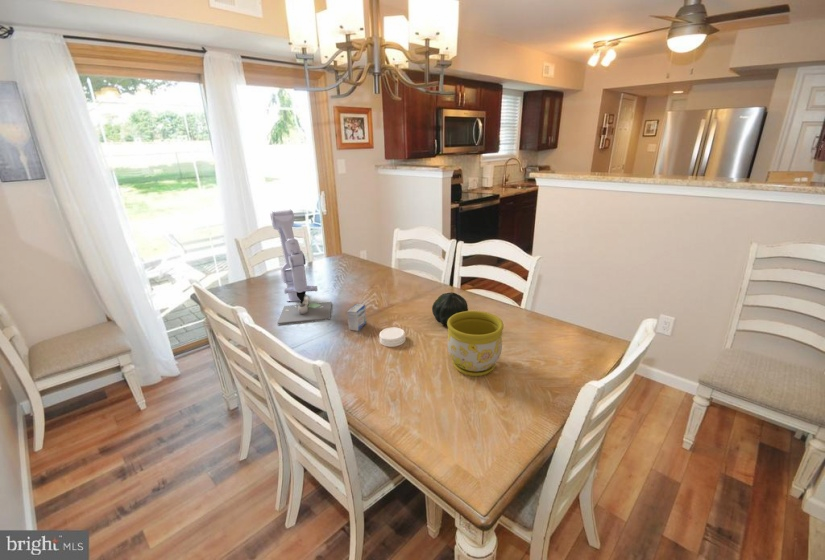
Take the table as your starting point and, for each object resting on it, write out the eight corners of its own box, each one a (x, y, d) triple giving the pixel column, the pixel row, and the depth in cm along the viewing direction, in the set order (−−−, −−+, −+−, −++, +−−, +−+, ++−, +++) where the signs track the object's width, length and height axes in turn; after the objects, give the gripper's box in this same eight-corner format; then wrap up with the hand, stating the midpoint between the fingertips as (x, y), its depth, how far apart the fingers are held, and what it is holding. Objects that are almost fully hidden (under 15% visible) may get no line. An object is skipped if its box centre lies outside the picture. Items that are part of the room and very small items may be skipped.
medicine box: (358, 331, 148) (356, 312, 145) (348, 330, 149) (346, 311, 146) (366, 322, 155) (365, 304, 152) (357, 321, 156) (355, 303, 153)
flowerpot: (464, 346, 134) (465, 306, 129) (510, 362, 123) (513, 319, 118) (436, 368, 121) (436, 325, 116) (484, 389, 110) (486, 342, 105)
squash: (445, 298, 163) (435, 282, 151) (476, 306, 156) (468, 290, 144) (433, 327, 158) (422, 312, 146) (465, 336, 151) (456, 322, 139)
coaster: (382, 349, 134) (381, 341, 133) (377, 336, 143) (377, 329, 142) (408, 345, 137) (408, 336, 136) (402, 333, 146) (401, 325, 145)
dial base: (284, 307, 172) (284, 305, 172) (331, 303, 175) (331, 301, 175) (277, 325, 155) (277, 322, 155) (329, 319, 159) (329, 317, 158)
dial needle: (307, 313, 162) (306, 306, 161) (298, 314, 162) (296, 306, 160) (311, 302, 174) (310, 294, 173) (303, 302, 174) (302, 295, 173)
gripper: (281, 283, 160) (286, 310, 165) (315, 280, 162) (318, 308, 167) (284, 277, 166) (288, 304, 171) (316, 275, 169) (319, 302, 173)
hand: (303, 305), depth 170 cm, fingers closed, pressing on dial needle
